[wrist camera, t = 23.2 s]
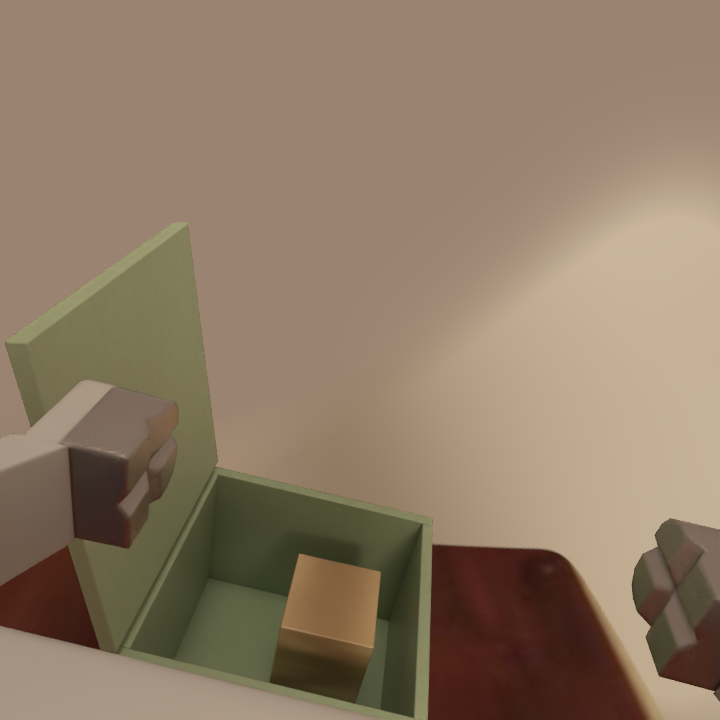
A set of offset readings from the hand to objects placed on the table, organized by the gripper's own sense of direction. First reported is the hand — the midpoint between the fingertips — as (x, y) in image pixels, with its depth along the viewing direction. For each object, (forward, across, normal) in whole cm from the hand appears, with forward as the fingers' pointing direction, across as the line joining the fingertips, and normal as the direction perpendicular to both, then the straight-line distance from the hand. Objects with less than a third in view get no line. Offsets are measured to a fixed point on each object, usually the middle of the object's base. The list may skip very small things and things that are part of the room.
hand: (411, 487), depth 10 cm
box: (+12, +2, +27) cm, 30 cm away
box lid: (+12, +10, +10) cm, 18 cm away
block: (+12, 0, +26) cm, 29 cm away
